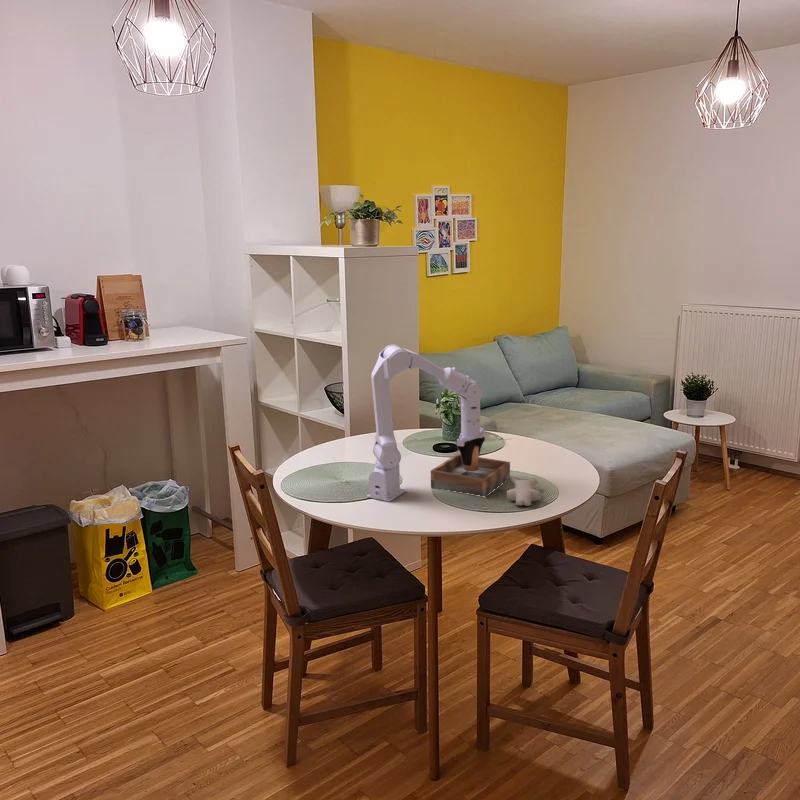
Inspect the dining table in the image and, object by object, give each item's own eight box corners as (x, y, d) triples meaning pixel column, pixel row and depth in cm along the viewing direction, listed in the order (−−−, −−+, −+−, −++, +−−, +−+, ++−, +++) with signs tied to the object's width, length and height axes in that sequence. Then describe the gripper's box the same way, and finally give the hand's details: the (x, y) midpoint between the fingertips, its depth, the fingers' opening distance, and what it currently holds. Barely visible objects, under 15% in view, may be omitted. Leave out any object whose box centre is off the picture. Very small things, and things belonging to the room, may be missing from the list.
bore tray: (485, 498, 211) (485, 480, 210) (430, 487, 220) (430, 470, 219) (509, 478, 226) (510, 461, 225) (457, 470, 235) (457, 453, 234)
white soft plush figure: (506, 494, 203) (507, 470, 217) (506, 511, 205) (507, 486, 219) (540, 496, 201) (540, 471, 215) (540, 512, 203) (540, 487, 217)
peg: (474, 472, 219) (474, 449, 217) (461, 469, 221) (461, 447, 220) (480, 467, 223) (480, 445, 221) (467, 465, 225) (467, 443, 223)
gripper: (472, 427, 210) (472, 471, 214) (492, 415, 222) (492, 457, 226) (450, 424, 214) (450, 468, 217) (472, 412, 226) (472, 454, 229)
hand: (470, 462), depth 222 cm, fingers closed on peg, 4 cm apart
